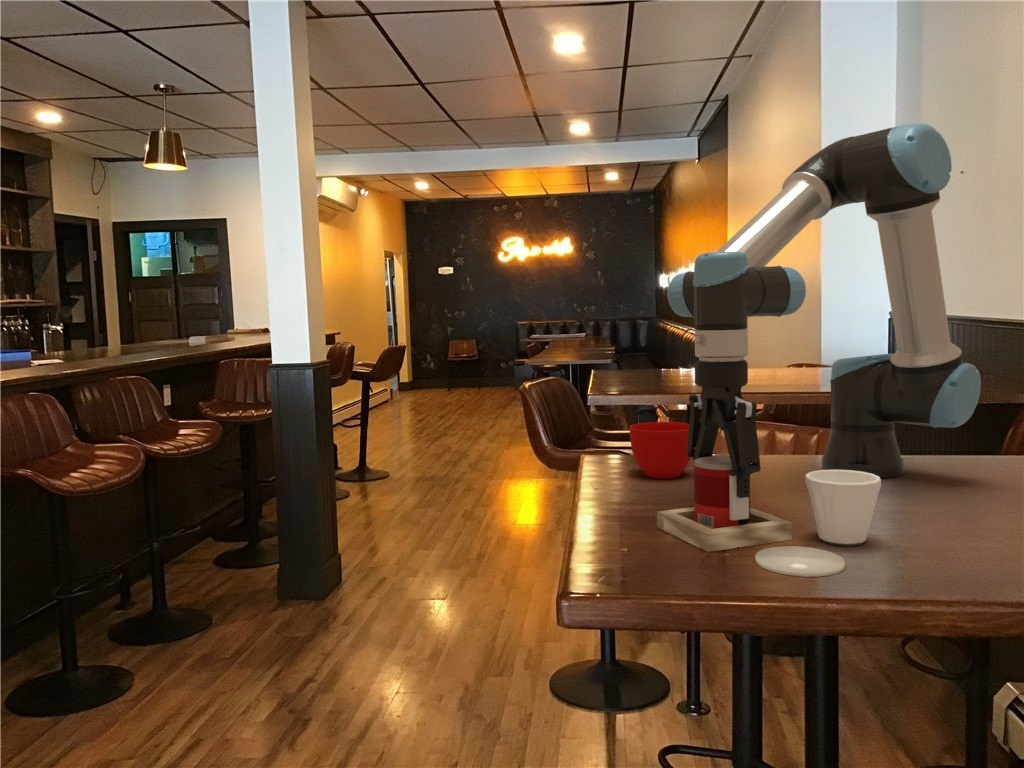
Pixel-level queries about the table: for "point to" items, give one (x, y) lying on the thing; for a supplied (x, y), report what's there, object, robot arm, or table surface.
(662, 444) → the ceramic cup
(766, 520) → the holder
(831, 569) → the coaster
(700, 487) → the canned food
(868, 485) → the cup
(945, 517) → the table surface
